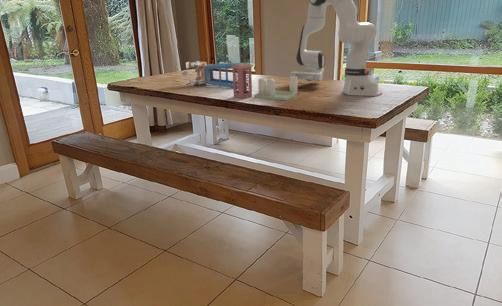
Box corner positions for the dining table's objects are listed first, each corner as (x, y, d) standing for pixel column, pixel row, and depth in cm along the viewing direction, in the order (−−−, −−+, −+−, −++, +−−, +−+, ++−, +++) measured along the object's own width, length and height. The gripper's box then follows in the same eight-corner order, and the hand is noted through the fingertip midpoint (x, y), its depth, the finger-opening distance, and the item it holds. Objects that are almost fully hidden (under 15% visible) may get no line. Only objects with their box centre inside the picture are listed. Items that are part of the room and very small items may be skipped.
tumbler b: (268, 96, 224) (267, 78, 220) (264, 97, 220) (263, 80, 217) (261, 95, 226) (260, 78, 223) (257, 97, 223) (256, 79, 219)
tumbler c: (298, 93, 232) (298, 76, 229) (295, 94, 228) (295, 77, 225) (291, 92, 234) (291, 76, 231) (288, 94, 231) (288, 77, 227)
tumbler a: (276, 96, 221) (276, 79, 218) (273, 98, 218) (272, 80, 214) (269, 96, 224) (269, 78, 220) (265, 97, 220) (265, 80, 216)
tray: (296, 96, 223) (296, 92, 223) (285, 101, 212) (285, 97, 211) (265, 94, 233) (265, 90, 232) (254, 98, 222) (254, 94, 221)
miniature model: (245, 96, 231) (243, 61, 224) (253, 98, 223) (252, 63, 216) (232, 98, 226) (230, 63, 219) (240, 100, 219) (238, 65, 212)
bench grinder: (192, 58, 278) (249, 61, 260) (194, 82, 284) (249, 85, 266) (179, 61, 264) (238, 64, 246) (181, 86, 270) (239, 90, 252)
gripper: (295, 67, 254) (286, 71, 243) (325, 69, 244) (316, 73, 233) (295, 77, 256) (286, 81, 245) (324, 79, 246) (316, 83, 235)
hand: (301, 77), depth 239 cm, fingers open, 8 cm apart
